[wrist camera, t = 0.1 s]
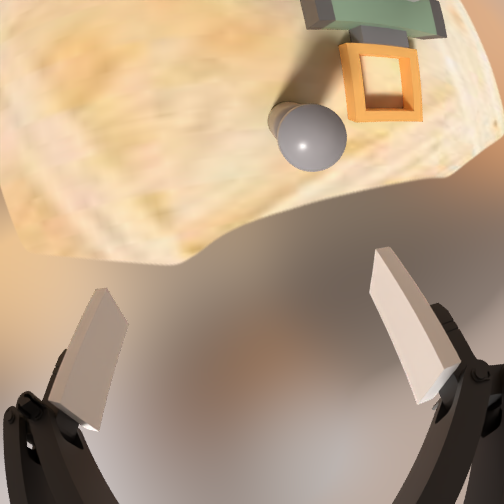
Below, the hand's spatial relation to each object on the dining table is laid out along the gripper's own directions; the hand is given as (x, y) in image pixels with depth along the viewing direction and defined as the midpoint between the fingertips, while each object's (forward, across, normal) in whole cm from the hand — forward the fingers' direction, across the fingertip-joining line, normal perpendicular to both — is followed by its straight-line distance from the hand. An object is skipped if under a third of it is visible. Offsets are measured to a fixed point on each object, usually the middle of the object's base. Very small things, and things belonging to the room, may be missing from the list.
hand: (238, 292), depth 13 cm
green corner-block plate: (+28, +21, +17) cm, 39 cm away
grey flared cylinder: (+28, +7, +3) cm, 29 cm away
